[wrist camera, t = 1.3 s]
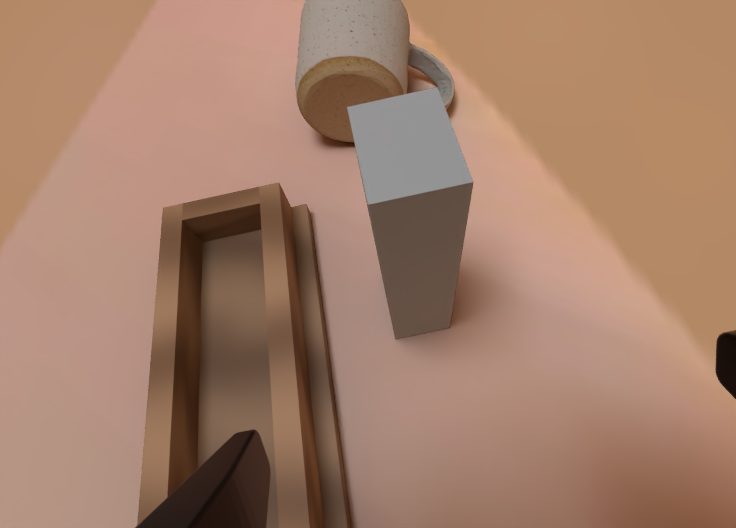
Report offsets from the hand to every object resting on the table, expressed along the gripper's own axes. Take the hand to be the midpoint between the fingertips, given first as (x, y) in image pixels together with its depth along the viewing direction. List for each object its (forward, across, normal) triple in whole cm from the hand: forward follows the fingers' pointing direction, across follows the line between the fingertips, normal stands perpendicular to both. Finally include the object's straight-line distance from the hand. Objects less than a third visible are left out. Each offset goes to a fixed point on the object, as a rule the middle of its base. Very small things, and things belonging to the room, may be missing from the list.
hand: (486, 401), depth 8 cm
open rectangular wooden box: (+13, +10, +6) cm, 17 cm away
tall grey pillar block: (+15, 0, +4) cm, 15 cm away
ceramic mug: (+27, -1, -7) cm, 28 cm away
